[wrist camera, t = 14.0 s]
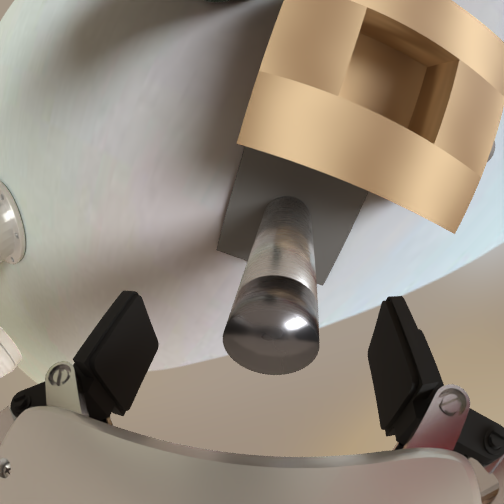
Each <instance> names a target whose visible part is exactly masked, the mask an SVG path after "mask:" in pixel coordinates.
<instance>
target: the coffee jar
mask: <svg viewBox="0 0 504 504" xmlns="http://www.w3.org/2000/svg"><path fill="white" fill-rule="evenodd" d="M206 1H211V2H223V1H229V0H206Z"/></svg>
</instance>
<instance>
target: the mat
mask: <svg viewBox="0 0 504 504" xmlns="http://www.w3.org/2000/svg"><path fill="white" fill-rule="evenodd" d="M367 194H368V191H367V190H365V189H362V188H360V187H358V186H355V185H353V184H351V183H348V182H346V181H343V180H341V179H338V178H336V177H333V176H331V175H328V174H326V173H323V172H320V171H318V170H315V169H312V168H310V167H307V166H304V165H301V164H299V163H296V162H293V161H290V160H287V159H284V158H281V157H278V156H275V155H272V154H269V153H266V152H263V151H260V150H256V149H253V148H250V147H246V146H245V148H244V152H243V155H242V159H241V162H240V166H239V169H238V172H237V176H236V179H235V183H234V187H233V190H232V194H231V197H230V201H229V205H228V208H227V212H226V216H225V219H224V223H223V227H222V231H221V234H220V238H219V242H218V246H217V250H218V251H221V252H224V253H227V254H230V255H233V256H236V257H238V258H241V259H244V260H247V261H248V259H249V256H250V253H251V250H252V247H253V244H254V241H255V238H256V235H257V232H258V229H259V226H260V223H261V220H262V217H263V214H264V211H265V209H266V207H267V206H268V204H269V203H270V202H271V201H273V200H274V199H276V198H278V197H282V196H292V197H295V198H298V199H300V200H301V201H302V202H304V203H305V204H306V206H307V207H308V209H309V211H310V215H311V224H312V234H313V245H314V257H315V270H316V284H320V285H323V284H324V283H325V281H326V279H327V277H328V275H329V273H330V271H331V269H332V267H333V265H334V263H335V261H336V259H337V257H338V255H339V253H340V251H341V249H342V247H343V245H344V243H345V241H346V239H347V237H348V235H349V233H350V231H351V229H352V227H353V224H354V222H355V220H356V218H357V216H358V214H359V212H360V209H361V207H362V205H363V203H364V200H365V198H366V196H367Z"/></svg>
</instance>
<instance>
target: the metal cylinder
mask: <svg viewBox="0 0 504 504" xmlns="http://www.w3.org/2000/svg"><path fill="white" fill-rule="evenodd" d="M223 344H224V347H225V350H226V351H227V353H228V354H229V356H230V357H231V358H232V359H233V360H234V361H236V362H237V363H238V364H240V365H241V366H243V367H245V368H247V369H249V370H251V371H254V372H258V373H262V374H268V375H269V374H270V375H282V374H289V373H293V372H296V371H299V370H301V369H303V368H305V367H306V366H308V365H309V364H310V363H311V362H312V361H313V360H314V359H315V357H316V356H317V354H318V351H319V322H318V301H317V284H316V270H315V257H314V245H313V234H312V224H311V215H310V211H309V209H308V207H307V206H306V204H305V203H304V202H302V201H301V200H300V199H298V198H295V197H292V196H282V197H278V198H276V199H274V200H273V201H271V202H270V203H269V204H268V206H267V207H266V209H265V211H264V214H263V217H262V220H261V223H260V226H259V229H258V232H257V235H256V238H255V241H254V244H253V247H252V250H251V253H250V256H249V259H248V262H247V265H246V268H245V271H244V274H243V277H242V280H241V283H240V286H239V289H238V292H237V295H236V297H235V300H234V303H233V306H232V309H231V312H230V315H229V318H228V321H227V324H226V327H225V330H224V334H223Z"/></svg>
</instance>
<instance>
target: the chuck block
mask: <svg viewBox="0 0 504 504" xmlns="http://www.w3.org/2000/svg"><path fill="white" fill-rule="evenodd" d="M503 107H504V42H503V41H502V40H501V39H500V38H499V37H498V36H497V35H495V34H494V33H493V32H492V31H491V30H490V29H488V28H487V27H486V26H485V25H484V24H482V23H481V22H480V21H479V20H478V19H476V18H475V17H474V16H472V15H471V14H470V13H468V12H467V11H466V10H464V9H463V8H462V7H460V6H459V5H457V4H456V3H454V2H453V1H451V0H284V1H283V4H282V7H281V9H280V12H279V15H278V17H277V20H276V23H275V26H274V28H273V31H272V34H271V37H270V40H269V43H268V45H267V48H266V51H265V54H264V57H263V60H262V63H261V66H260V69H259V72H258V75H257V78H256V81H255V85H254V88H253V91H252V94H251V97H250V100H249V104H248V107H247V110H246V113H245V117H244V120H243V123H242V127H241V130H240V133H239V137H238V140H237V144H240V145H243V146H246V147H250V148H253V149H256V150H260V151H263V152H266V153H269V154H272V155H275V156H278V157H281V158H284V159H287V160H290V161H293V162H296V163H299V164H301V165H304V166H307V167H310V168H312V169H315V170H318V171H320V172H323V173H326V174H328V175H331V176H333V177H336V178H338V179H341V180H343V181H346V182H348V183H351V184H353V185H355V186H358V187H360V188H362V189H365V190H367V191H369V192H372V193H374V194H376V195H378V196H381V197H383V198H385V199H387V200H389V201H391V202H394V203H396V204H398V205H400V206H402V207H404V208H406V209H408V210H410V211H412V212H414V213H416V214H418V215H420V216H422V217H424V218H426V219H428V220H430V221H432V222H434V223H435V224H437V225H439V226H441V227H443V228H445V229H446V230H448V231H450V232H452V233H454V234H455V232H456V230H457V229H458V227H459V225H460V223H461V221H462V219H463V217H464V215H465V213H466V210H467V208H468V206H469V204H470V202H471V200H472V197H473V195H474V193H475V191H476V188H477V186H478V183H479V181H480V179H481V176H482V174H483V171H484V168H485V166H486V163H487V162H488V161H489V160H490V159H491V157H492V156H493V153H494V150H495V141H494V140H495V136H496V133H497V130H498V126H499V123H500V119H501V115H502V111H503Z"/></svg>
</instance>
